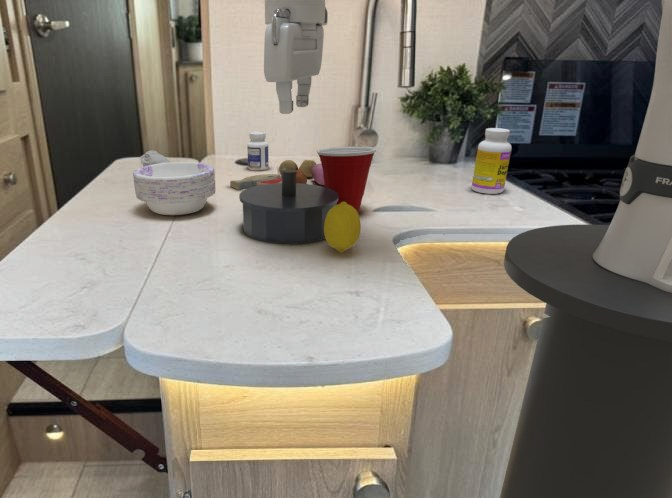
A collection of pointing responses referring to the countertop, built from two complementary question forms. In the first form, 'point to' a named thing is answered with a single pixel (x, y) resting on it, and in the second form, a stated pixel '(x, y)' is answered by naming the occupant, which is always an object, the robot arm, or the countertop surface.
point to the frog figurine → (152, 158)
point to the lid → (288, 196)
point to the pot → (285, 225)
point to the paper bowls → (175, 186)
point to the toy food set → (304, 171)
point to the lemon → (342, 227)
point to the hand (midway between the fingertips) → (294, 110)
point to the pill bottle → (257, 151)
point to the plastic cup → (346, 172)
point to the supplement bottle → (492, 162)
